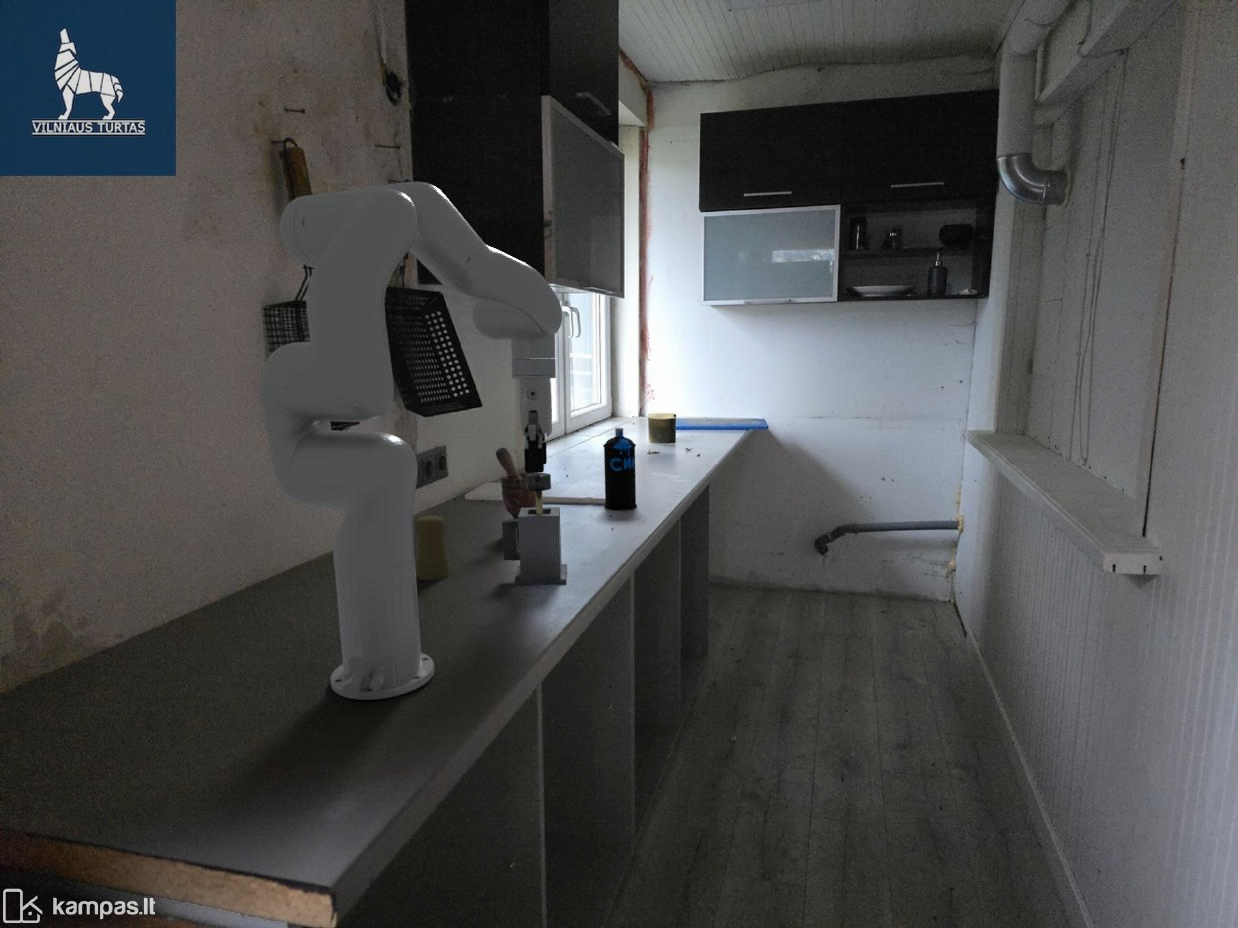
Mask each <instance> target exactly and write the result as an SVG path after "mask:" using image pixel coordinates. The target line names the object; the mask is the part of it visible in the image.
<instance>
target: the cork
mask: <svg viewBox="0 0 1238 928" xmlns="http://www.w3.org/2000/svg"><path fill="white" fill-rule="evenodd" d="M445 528H446V524H445V520H444V518H443V517H441V516H438V515H424V516H421V517H419V518H418V519H417V520H416V522H415V531H416V534H417V535H418V547H417V549H418V550H417V562H416V563H417V564H416V579H417V580H421V581H437V580H442V579H445V578H448V577H449V576H450V575H451V572H450V567H449V563H448V557H447V551H446V547H445V542H444V537H443V533H444V532H445ZM447 576H448V577H447Z"/></svg>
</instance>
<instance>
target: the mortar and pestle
mask: <svg viewBox="0 0 1238 928" xmlns="http://www.w3.org/2000/svg"><path fill="white" fill-rule="evenodd" d="M495 456H496V459H497V461H498V462H499V464H500V466H501V467H502V468H503V470H504V471H505V473H506V474H503V475H501V477H500V480H501V481H500V482H501V483H500V484H501V494H502V495H501V496H502V500H503V504H504V506H505V510H506V511H507V513H509V514H510V515H511V516H512V519H518V516H519V513H520V510H521V508H535V507H536V496H535V491H529V490H526V475H527V474H532V473H526V472H525V471H519V472H518V471H517V468H516V466H515V464H514V460H513V457H512V454H511V452H510V451H509V449H508V448H506V447H500V448H498V449H497V450H496V451H495ZM517 538H519V528H517Z"/></svg>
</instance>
